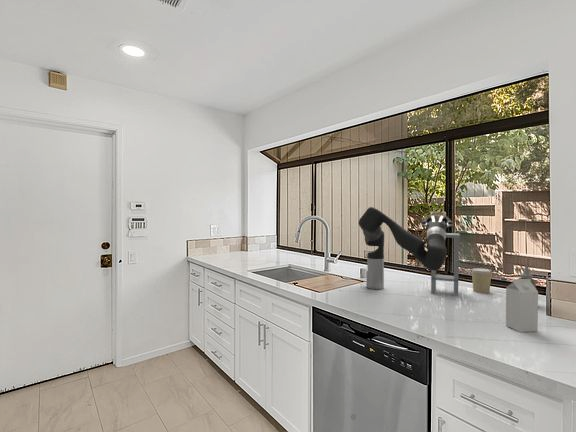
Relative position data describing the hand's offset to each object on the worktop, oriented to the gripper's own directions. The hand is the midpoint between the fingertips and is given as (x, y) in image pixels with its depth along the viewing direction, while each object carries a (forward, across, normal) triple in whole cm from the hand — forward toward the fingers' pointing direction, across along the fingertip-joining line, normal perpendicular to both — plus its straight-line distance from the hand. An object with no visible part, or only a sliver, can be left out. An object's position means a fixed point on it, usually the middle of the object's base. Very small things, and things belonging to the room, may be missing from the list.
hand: (437, 213), depth 155 cm
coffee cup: (+9, +21, -56) cm, 60 cm away
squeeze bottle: (-7, +38, -46) cm, 60 cm away
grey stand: (0, +3, -50) cm, 50 cm away
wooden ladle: (+2, 0, -4) cm, 4 cm away
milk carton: (-40, +30, -28) cm, 57 cm away
